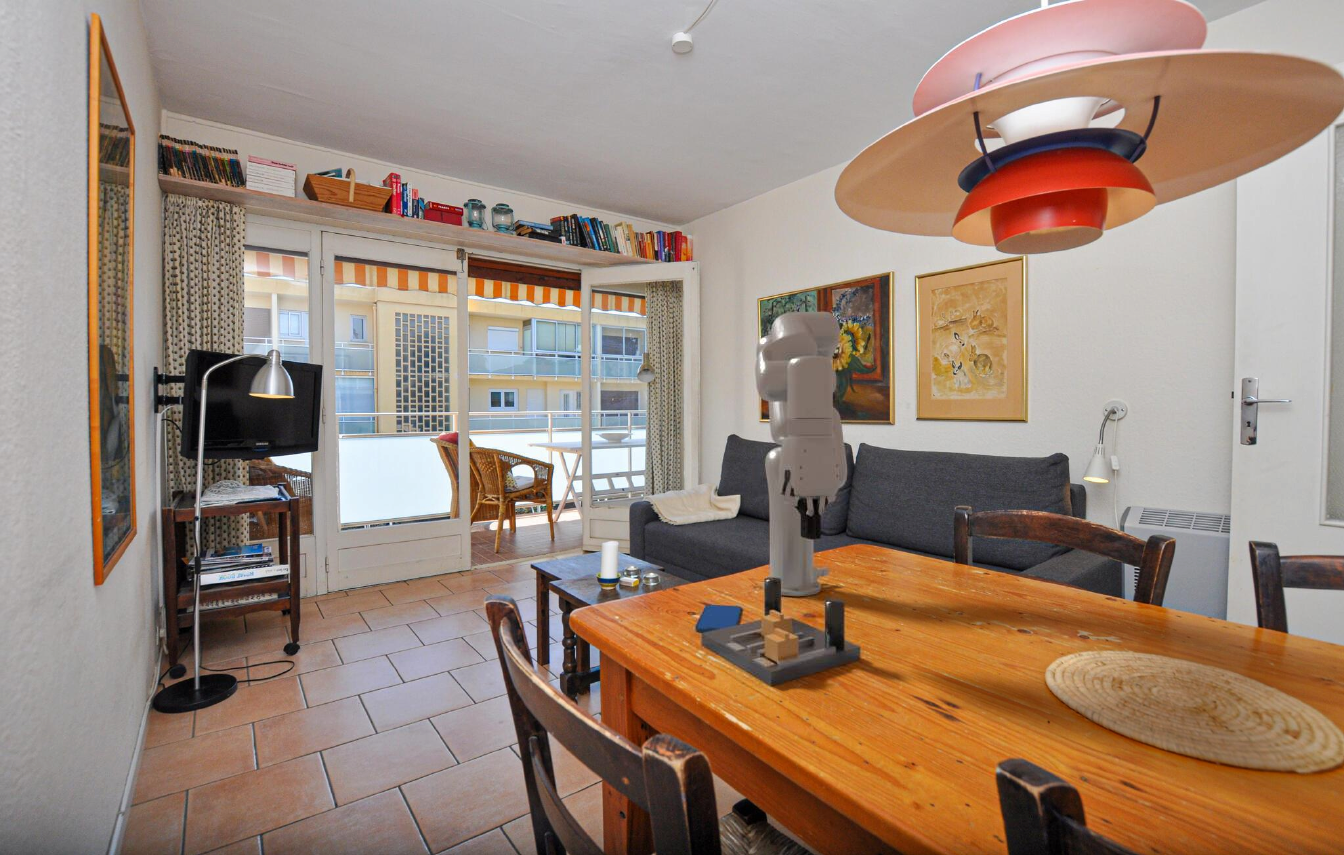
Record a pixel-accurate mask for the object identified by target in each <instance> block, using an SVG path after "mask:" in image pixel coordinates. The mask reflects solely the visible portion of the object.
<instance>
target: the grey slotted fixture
mask: <svg viewBox="0 0 1344 855" xmlns="http://www.w3.org/2000/svg"><path fill="white" fill-rule="evenodd" d="M763 582H764V588H763V589H764V591H763V592H764V594H763V596H764V606H763V607H764V612H763V613H764V616H767V615H770V610H775V611H777V612H780V613H782V595H781V579H780V578H775V577H770V576H769V577H765V578H764V579H763ZM845 607H846V606H845V600H843V599H840V598H827V599H825V600H824V630H821V629H820V628H816V627H814V626H812V625H811V624H810V625H809V624H807V623H805V622H802V621H801V620H799V619H795V618H793V617H792V634H793V635H795V636H797V637H798V655H797V656H794V657H790V658H786V659H783V660H779V661H777V662H776V661H774V660H772V659H770V658H768V657H766V656H765V636H762V635H761V619H759V620H755V621H754V620H753V621H749V622H744V623H741V624H738V625H736V626H731V627H727V628H722V629H718V630H713V631H709V632H705V633H704V632H701V646H703V647H704V648H706V649H707V650H709V651H711V652H713V653H715V654H716V655H717V656H720V657H721V658H723V659H725V660H726V661H728V662H730V663H731V664H733V665H735V666H736V667H738V668H740V669H741V670H743V671H745V672H746V673H748V674H750V675H752V676H753V677H755V678H757V679H758V680H760V681H761V682H764V683H765V684H767V685H768V686H770V687H774V686H777V685H780V684H783V683H785V682H786V683H787V682H790V681H794V680H797V679H801V678H803V677H807V676H809V675H813V674H816V673H819V672H822V671H826V670H830V669H834V668H837V667H840V666H843V665H846V664H850V663H853V662H856V661H860V660H861V646H860V645H858V644H854V643H853V642H850V641H848V640H845V636H846V634H845V630H846V628H845V627H846V626H845V616H846V615H845V609H846V608H845Z"/></svg>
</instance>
